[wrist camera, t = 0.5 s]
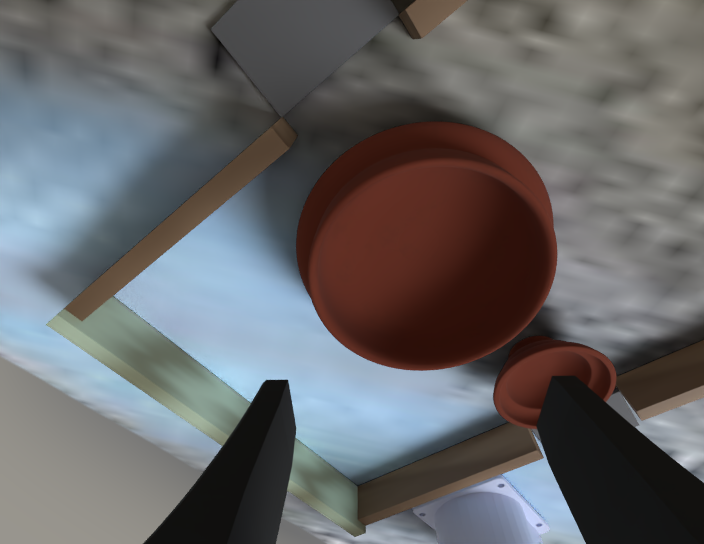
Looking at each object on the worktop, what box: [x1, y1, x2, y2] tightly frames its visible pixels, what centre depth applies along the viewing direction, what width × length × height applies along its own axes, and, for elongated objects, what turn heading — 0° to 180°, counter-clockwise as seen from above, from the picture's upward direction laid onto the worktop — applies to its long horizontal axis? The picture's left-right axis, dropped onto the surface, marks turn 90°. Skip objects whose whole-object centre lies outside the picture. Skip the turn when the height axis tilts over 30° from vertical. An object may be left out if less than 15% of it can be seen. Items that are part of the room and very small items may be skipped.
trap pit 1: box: [211, 0, 399, 118], centre depth 15 cm, size 4×6×1 cm, turn 127°
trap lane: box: [46, 0, 704, 537], centre depth 20 cm, size 25×29×3 cm
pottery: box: [296, 122, 616, 429], centre depth 19 cm, size 12×20×4 cm, turn 45°
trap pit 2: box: [531, 388, 639, 441], centre depth 26 cm, size 4×6×1 cm, turn 127°
